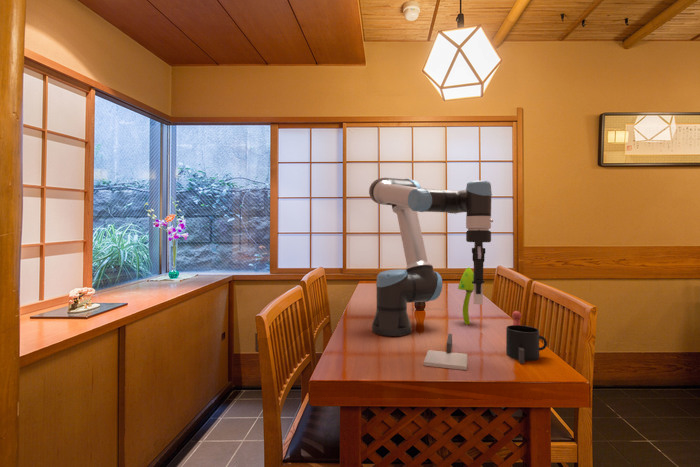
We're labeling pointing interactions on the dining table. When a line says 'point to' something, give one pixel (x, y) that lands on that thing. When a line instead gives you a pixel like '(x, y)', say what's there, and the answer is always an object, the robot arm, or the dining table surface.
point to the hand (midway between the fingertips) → (478, 303)
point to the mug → (523, 342)
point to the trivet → (446, 360)
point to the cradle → (516, 321)
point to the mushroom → (469, 287)
